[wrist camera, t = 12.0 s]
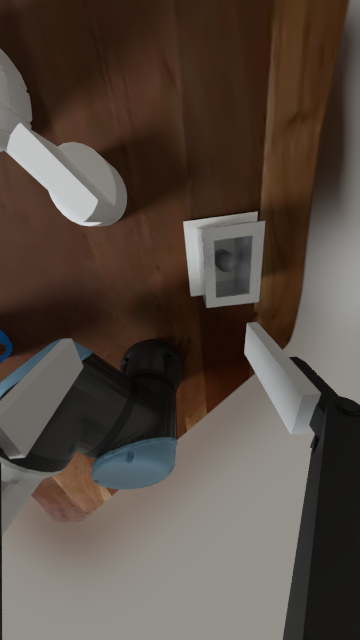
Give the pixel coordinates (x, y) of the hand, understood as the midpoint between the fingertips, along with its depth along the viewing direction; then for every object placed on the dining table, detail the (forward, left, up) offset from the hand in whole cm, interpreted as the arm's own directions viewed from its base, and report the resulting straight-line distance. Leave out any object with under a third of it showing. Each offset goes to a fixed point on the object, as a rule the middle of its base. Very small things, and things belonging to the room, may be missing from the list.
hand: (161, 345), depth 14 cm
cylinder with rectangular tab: (+14, +10, -24) cm, 29 cm away
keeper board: (+2, -9, -24) cm, 26 cm away
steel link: (+2, -9, -23) cm, 24 cm away
